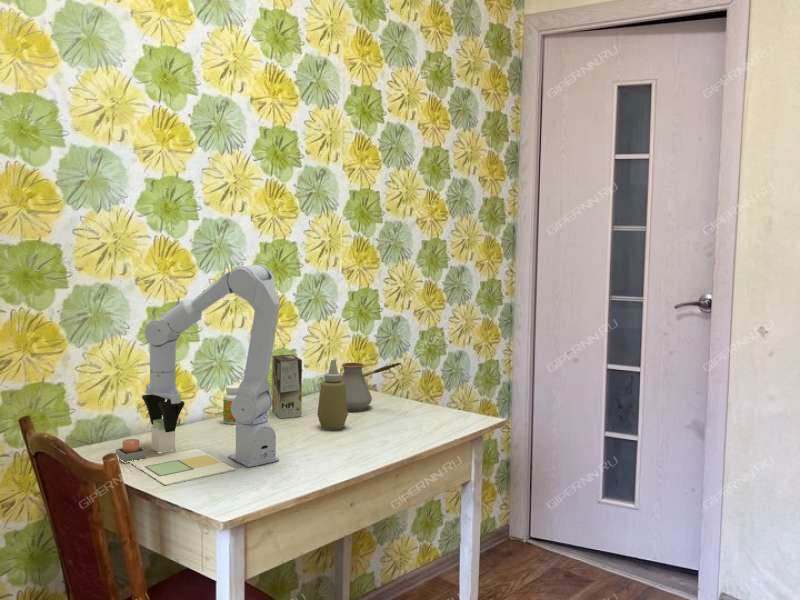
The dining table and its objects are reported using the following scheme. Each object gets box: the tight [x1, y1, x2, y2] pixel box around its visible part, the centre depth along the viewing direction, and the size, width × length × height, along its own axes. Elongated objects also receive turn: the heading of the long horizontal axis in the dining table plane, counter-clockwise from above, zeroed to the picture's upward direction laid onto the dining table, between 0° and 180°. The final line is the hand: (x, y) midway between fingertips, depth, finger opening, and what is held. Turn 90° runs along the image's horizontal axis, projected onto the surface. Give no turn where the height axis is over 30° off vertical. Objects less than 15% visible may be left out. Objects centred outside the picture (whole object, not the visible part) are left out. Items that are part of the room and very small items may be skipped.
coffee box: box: [271, 354, 303, 419], centre depth 213 cm, size 9×6×16 cm
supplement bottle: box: [222, 384, 240, 425], centre depth 203 cm, size 5×5×10 cm
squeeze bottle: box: [316, 359, 349, 431], centre depth 200 cm, size 8×8×18 cm
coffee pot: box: [341, 362, 404, 412], centre depth 219 cm, size 21×12×15 cm, turn 65°
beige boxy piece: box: [151, 418, 176, 453], centre depth 178 cm, size 4×4×7 cm
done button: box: [122, 438, 141, 454], centre depth 171 cm, size 4×4×2 cm
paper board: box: [131, 448, 236, 486], centre depth 167 cm, size 18×16×1 cm
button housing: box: [115, 446, 147, 462], centre depth 171 cm, size 5×5×2 cm
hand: (163, 427), depth 178 cm, fingers open, 7 cm apart
